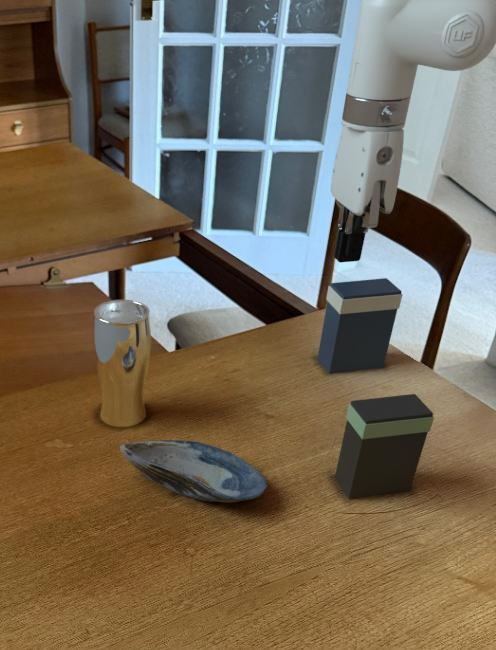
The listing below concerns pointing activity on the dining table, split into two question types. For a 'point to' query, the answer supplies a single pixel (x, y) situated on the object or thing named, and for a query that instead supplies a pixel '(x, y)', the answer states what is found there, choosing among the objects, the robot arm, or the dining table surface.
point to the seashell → (196, 470)
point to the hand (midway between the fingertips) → (346, 259)
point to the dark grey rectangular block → (382, 445)
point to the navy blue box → (358, 324)
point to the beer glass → (122, 359)
